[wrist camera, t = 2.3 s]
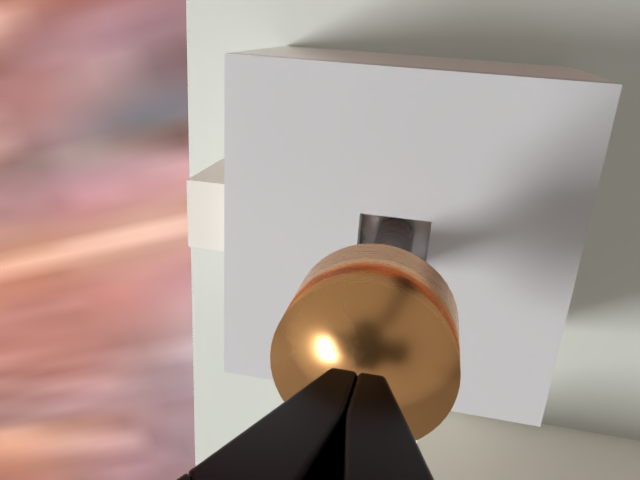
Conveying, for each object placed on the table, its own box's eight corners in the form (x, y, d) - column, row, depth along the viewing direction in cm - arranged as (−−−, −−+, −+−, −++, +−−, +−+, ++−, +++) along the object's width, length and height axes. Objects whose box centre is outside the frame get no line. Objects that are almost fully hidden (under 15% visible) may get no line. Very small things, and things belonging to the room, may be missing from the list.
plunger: (557, 113, 14) (649, 187, 8) (506, 363, 17) (543, 574, 10) (276, 88, 16) (152, 135, 9) (268, 325, 18) (167, 494, 12)
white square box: (569, 66, 18) (622, 84, 13) (516, 325, 21) (540, 426, 16) (245, 42, 20) (170, 49, 14) (242, 284, 23) (179, 363, 17)
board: (950, -3, 16) (968, -4, 15) (674, 662, 26) (679, 676, 25) (192, -41, 20) (185, -43, 19) (202, 553, 29) (197, 563, 29)
